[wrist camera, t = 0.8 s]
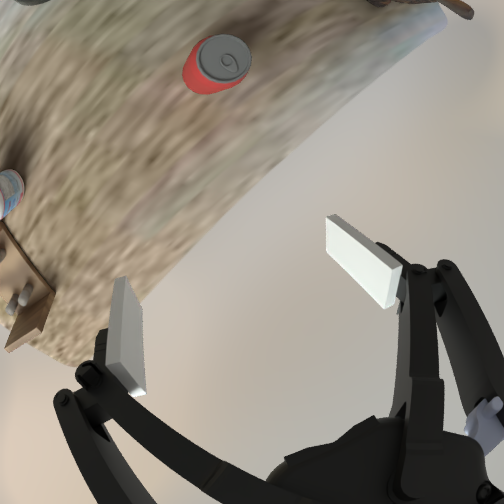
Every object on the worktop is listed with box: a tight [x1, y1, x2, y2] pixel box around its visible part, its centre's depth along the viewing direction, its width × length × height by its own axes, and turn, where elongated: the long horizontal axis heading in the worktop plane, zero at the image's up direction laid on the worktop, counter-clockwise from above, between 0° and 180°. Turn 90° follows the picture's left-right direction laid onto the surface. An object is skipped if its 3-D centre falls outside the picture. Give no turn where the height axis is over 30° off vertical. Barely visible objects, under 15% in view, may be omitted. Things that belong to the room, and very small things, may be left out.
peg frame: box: [0, 221, 56, 353], centre depth 31 cm, size 16×11×10 cm
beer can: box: [182, 34, 252, 94], centre depth 27 cm, size 7×7×12 cm
